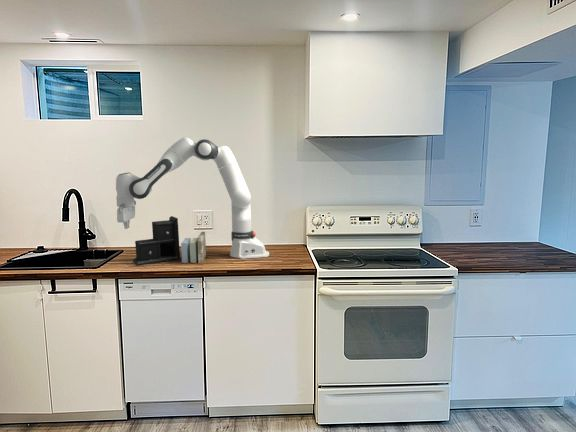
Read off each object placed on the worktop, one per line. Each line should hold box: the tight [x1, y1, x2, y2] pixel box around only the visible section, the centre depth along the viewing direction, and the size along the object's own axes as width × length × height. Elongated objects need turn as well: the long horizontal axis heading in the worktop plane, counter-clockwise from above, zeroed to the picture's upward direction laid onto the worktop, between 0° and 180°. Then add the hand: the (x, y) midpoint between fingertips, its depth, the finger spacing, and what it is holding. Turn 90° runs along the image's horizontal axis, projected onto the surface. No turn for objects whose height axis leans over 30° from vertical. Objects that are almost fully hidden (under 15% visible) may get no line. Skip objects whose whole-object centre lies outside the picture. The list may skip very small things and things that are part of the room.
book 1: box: [180, 237, 192, 264], centre depth 225 cm, size 3×14×11 cm, turn 5°
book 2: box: [189, 237, 198, 264], centre depth 226 cm, size 3×14×11 cm, turn 5°
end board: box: [197, 231, 207, 264], centre depth 226 cm, size 2×18×14 cm, turn 5°
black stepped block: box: [132, 215, 181, 267], centre depth 223 cm, size 23×11×24 cm, turn 122°
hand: (126, 228), depth 221 cm, fingers closed
